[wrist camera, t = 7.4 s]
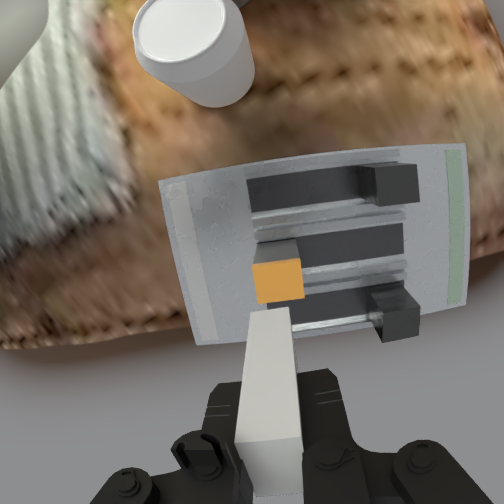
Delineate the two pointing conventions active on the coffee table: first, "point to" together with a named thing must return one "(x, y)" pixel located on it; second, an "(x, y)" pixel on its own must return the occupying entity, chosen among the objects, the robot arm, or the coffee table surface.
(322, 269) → the breaker panel
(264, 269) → the breaker
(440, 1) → the coffee table surface
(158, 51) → the beverage can
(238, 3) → the vintage camera
